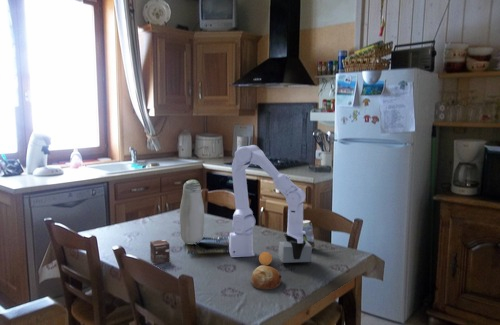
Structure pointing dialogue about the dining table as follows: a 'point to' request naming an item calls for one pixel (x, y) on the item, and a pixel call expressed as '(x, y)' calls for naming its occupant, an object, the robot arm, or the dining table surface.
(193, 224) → the white tall rounded cylinder
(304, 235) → the beverage can
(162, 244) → the box
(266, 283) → the bread roll
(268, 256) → the ball
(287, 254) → the light grey cuboid
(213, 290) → the dining table surface
